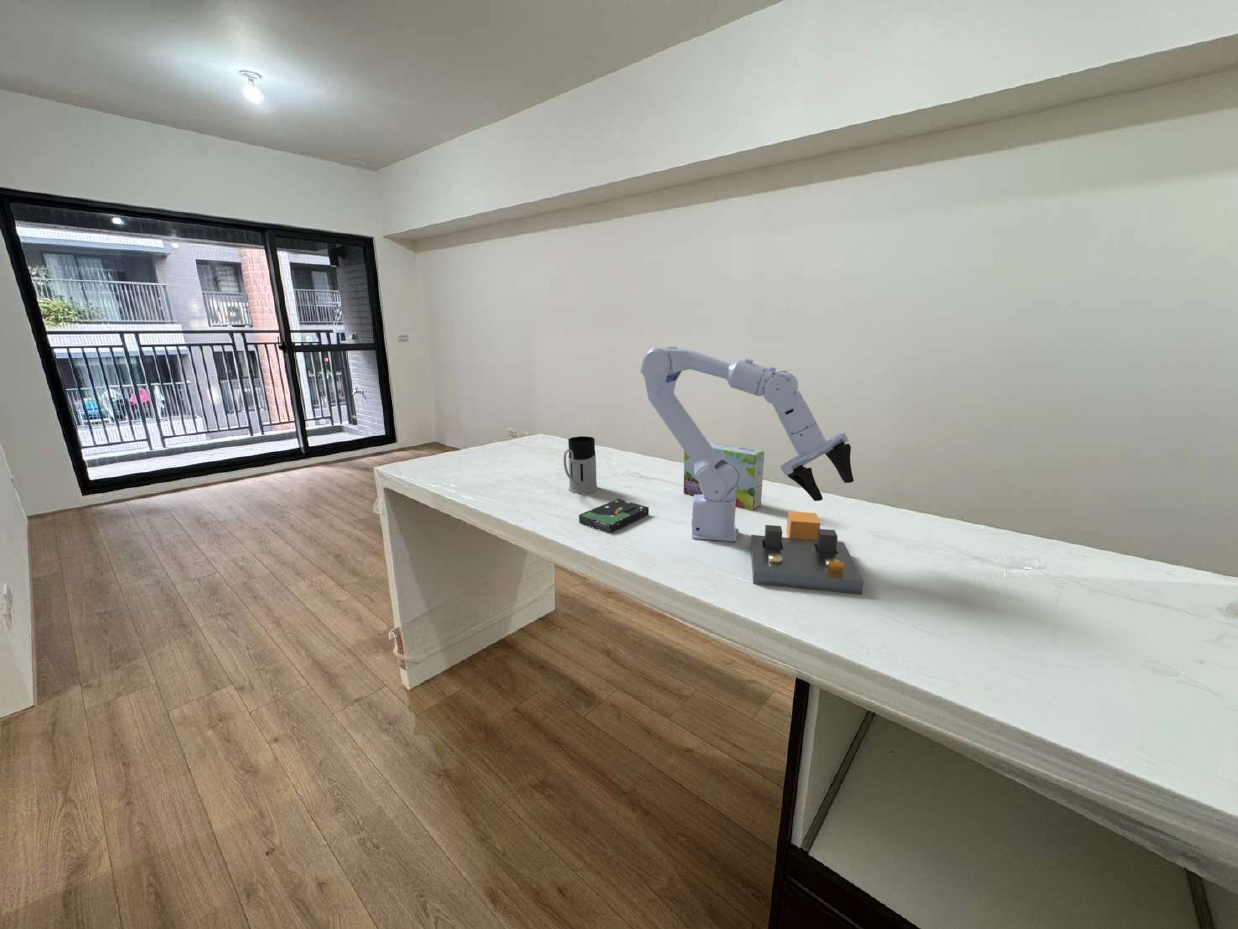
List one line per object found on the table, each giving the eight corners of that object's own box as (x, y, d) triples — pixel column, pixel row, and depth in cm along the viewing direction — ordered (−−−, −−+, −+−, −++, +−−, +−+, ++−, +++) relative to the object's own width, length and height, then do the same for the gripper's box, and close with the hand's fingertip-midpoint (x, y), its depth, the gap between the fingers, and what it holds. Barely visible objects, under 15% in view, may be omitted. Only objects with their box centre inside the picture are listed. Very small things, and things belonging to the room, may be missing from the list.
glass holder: (603, 486, 140) (602, 437, 136) (580, 501, 128) (578, 447, 124) (577, 483, 144) (575, 435, 140) (552, 497, 131) (549, 445, 127)
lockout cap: (789, 542, 101) (791, 521, 100) (786, 532, 106) (788, 511, 105) (818, 545, 100) (820, 523, 98) (813, 534, 105) (815, 513, 104)
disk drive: (617, 508, 124) (578, 525, 113) (617, 498, 124) (577, 514, 113) (649, 517, 118) (610, 536, 107) (649, 506, 117) (610, 524, 106)
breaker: (764, 549, 94) (766, 530, 92) (764, 543, 96) (765, 524, 95) (780, 550, 93) (782, 531, 92) (779, 544, 96) (780, 525, 95)
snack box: (682, 494, 132) (683, 442, 128) (692, 489, 136) (694, 438, 132) (752, 511, 119) (756, 453, 115) (762, 505, 123) (766, 449, 119)
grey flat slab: (753, 583, 85) (754, 560, 84) (750, 545, 100) (751, 526, 99) (861, 594, 81) (865, 570, 80) (842, 553, 96) (844, 532, 95)
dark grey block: (818, 553, 91) (820, 534, 90) (816, 547, 94) (818, 528, 93) (835, 555, 91) (837, 536, 90) (832, 548, 93) (834, 529, 92)
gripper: (782, 442, 86) (816, 508, 86) (844, 408, 89) (877, 472, 89) (764, 447, 93) (795, 508, 93) (822, 416, 96) (852, 475, 96)
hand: (834, 491), depth 92 cm, fingers open, 7 cm apart
